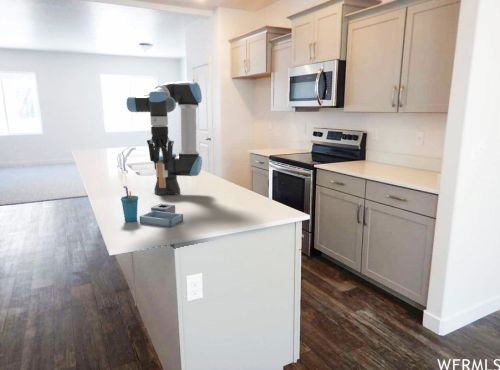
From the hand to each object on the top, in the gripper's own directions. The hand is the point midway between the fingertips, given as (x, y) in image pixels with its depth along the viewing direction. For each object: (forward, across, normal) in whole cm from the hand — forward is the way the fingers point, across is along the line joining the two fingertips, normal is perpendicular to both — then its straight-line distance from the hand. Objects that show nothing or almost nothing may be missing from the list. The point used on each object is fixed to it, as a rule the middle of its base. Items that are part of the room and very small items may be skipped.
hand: (162, 176), depth 169 cm
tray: (+18, +6, -10) cm, 22 cm away
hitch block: (+18, 0, 0) cm, 18 cm away
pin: (+5, 0, 0) cm, 5 cm away
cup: (+18, -8, -14) cm, 24 cm away
